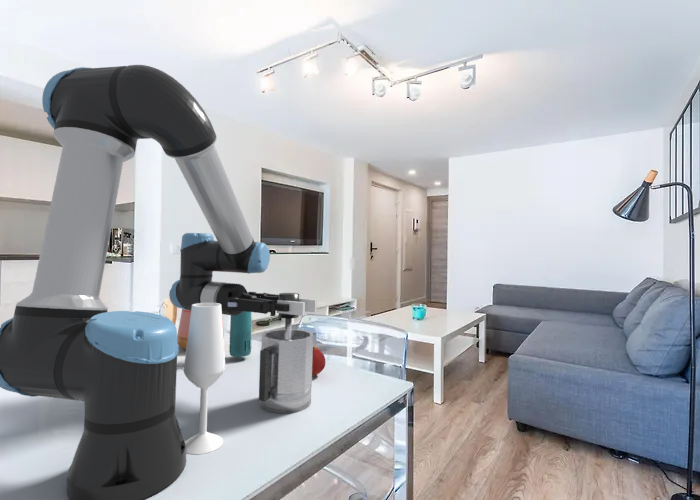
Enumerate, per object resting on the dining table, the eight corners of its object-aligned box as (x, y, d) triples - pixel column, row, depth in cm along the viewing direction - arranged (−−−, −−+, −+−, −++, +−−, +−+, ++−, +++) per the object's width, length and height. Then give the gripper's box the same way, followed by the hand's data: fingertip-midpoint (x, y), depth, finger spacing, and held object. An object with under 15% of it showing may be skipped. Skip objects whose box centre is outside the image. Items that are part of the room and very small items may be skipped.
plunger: (292, 391, 76) (294, 297, 76) (260, 384, 80) (263, 294, 80) (311, 379, 84) (314, 293, 84) (281, 373, 87) (284, 290, 87)
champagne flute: (181, 437, 65) (185, 302, 65) (221, 431, 68) (225, 301, 68) (181, 457, 59) (185, 308, 59) (225, 449, 62) (229, 307, 62)
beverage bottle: (244, 362, 108) (246, 294, 108) (224, 360, 110) (226, 293, 110) (254, 356, 115) (256, 292, 115) (235, 354, 116) (237, 291, 116)
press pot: (284, 424, 71) (286, 347, 71) (239, 412, 76) (241, 339, 76) (319, 398, 85) (321, 332, 84) (279, 389, 89) (281, 327, 89)
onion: (307, 371, 103) (308, 342, 103) (327, 373, 102) (328, 344, 102) (300, 378, 97) (301, 347, 97) (321, 380, 96) (322, 349, 96)
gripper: (248, 309, 97) (328, 318, 87) (196, 320, 81) (286, 332, 72) (249, 280, 97) (329, 286, 87) (197, 285, 81) (287, 294, 72)
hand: (309, 307), depth 80 cm, fingers closed on plunger, 4 cm apart
